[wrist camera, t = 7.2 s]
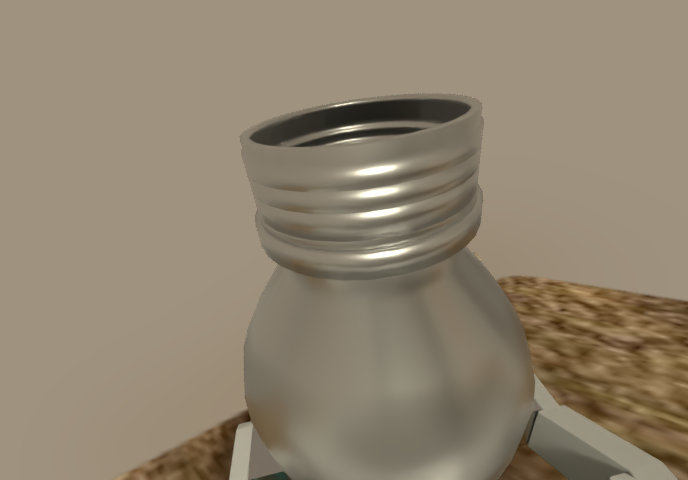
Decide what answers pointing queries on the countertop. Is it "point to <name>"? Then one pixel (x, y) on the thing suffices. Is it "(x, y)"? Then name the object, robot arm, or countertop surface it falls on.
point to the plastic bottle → (380, 297)
